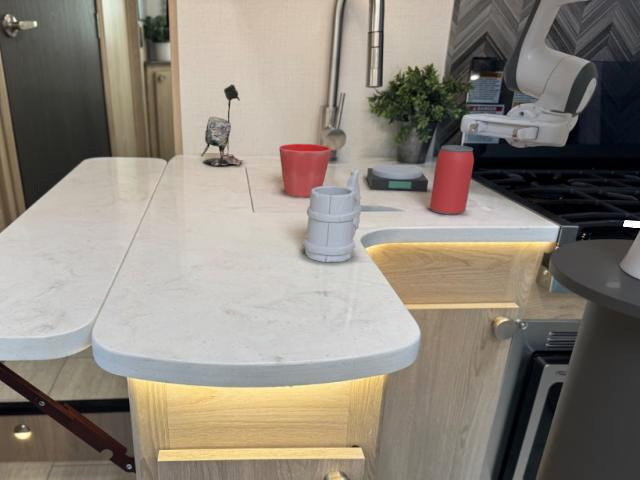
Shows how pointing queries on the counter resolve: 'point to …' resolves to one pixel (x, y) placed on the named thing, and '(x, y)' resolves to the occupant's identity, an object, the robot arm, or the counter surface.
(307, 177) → the flower pot
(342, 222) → the mug
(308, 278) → the counter surface
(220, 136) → the grey tall irregular piece
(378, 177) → the kitchen scale
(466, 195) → the beer can
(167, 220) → the counter surface
